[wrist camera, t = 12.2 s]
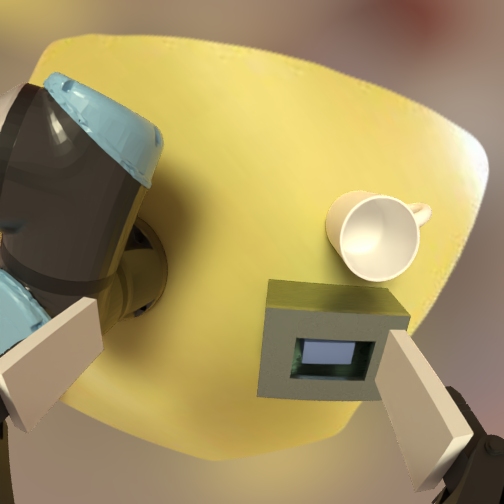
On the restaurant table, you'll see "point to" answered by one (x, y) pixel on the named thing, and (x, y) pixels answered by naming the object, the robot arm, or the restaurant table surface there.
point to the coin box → (329, 328)
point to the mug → (375, 233)
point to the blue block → (326, 351)
